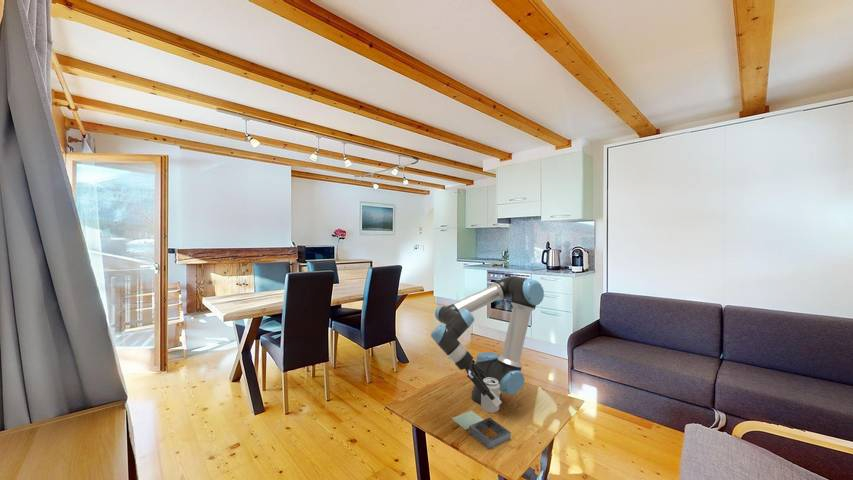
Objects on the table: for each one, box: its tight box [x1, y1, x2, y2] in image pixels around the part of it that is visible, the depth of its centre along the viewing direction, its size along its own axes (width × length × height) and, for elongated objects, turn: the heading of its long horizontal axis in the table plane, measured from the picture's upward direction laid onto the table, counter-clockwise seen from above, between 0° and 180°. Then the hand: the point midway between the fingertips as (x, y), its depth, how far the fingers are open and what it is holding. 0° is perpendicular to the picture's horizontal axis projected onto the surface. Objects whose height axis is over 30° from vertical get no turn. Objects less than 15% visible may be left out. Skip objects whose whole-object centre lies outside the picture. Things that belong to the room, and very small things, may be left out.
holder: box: [468, 417, 512, 450], centre depth 131 cm, size 12×12×3 cm
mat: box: [451, 410, 485, 431], centre depth 142 cm, size 12×10×1 cm
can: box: [480, 377, 501, 414], centre depth 131 cm, size 8×8×12 cm
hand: (498, 399), depth 130 cm, fingers closed on can, 7 cm apart
